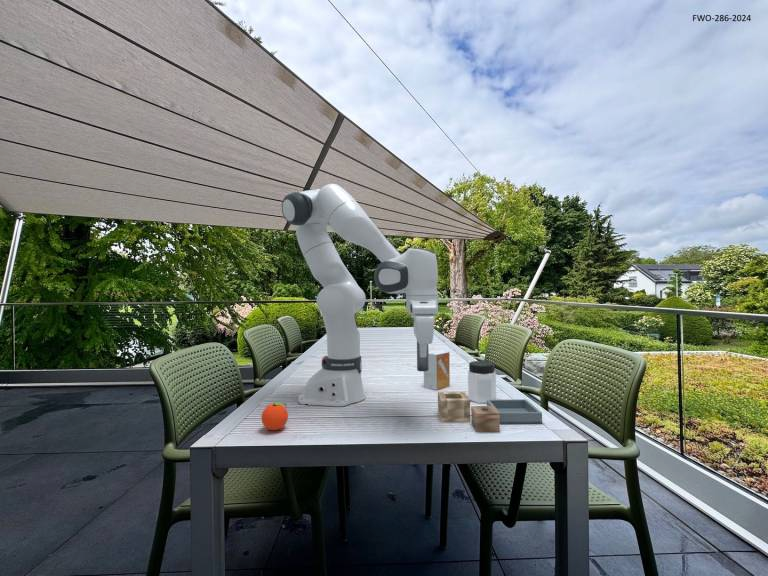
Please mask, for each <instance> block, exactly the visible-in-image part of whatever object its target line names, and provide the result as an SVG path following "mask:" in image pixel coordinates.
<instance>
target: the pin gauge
mask: <svg viewBox="0 0 768 576" xmlns="http://www.w3.org/2000/svg"><path fill="white" fill-rule="evenodd" d="M428 352H429V344H427V356H426V357H420V347H419V343H418V341H417V340H416V370H417V371H418V372H424V371H428V370H429V356H428Z"/></svg>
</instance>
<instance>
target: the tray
mask: <svg viewBox="0 0 768 576" xmlns="http://www.w3.org/2000/svg"><path fill="white" fill-rule="evenodd" d="M486 406H494V407H495V409H496V410H497V411H498V412H499V415H500V425H542V424H543V412H542V411H540V410H539V409H538V408H537V407H536V406H535V405H534V404H532V403H531V402H530V401H529V400H528V399H525V398H523V399H522V398H521V399H518V398H517V399H496V400H487V403H486Z"/></svg>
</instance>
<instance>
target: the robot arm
mask: <svg viewBox="0 0 768 576" xmlns="http://www.w3.org/2000/svg"><path fill="white" fill-rule="evenodd" d="M364 210H365V209H363V208H362V207H361V205H360V204H359V203H358V201H356V199H355V198H354V197H353V196H352V195H351V194H350V193H349V192H348V191H346V190H345V189H344V188H343V187H342V186H340V185H339V184H336V183H327V184H326V185H324V186H322V187H321V188H315V189H309V190H302V191H298V192H297V191H295V192H294V191H293V192H291V193H288V194H287V195H285V196H284V198H283V200H282V203H281V213H282V216H283V218H284V219H285V221H286V222H287V223H288V224H289V225H293V226H297V228H296V230H295V235H296V239H297V242H298V243H297V244H298V245H299V248H300V251H301V253H302V255H303V258H304V260H305V262H306V264H307V266H308V269H309V271H310V272H311V274H312V276H313V278H314V279H315V280H316V281H318V283H320V284H321V286H322V289H321V290H320V291H319V292H318V294H317V296H316V306H317V308H318V310H319V312H320V313H321V316H322V319H323V322H324V327H325V330H326V331H325V332H326V344H327V345H326V346H327V353H326V354H327V355H324V356H322V358H321V368H320V369H319V370H318V371H316V373H315V374H313V375H312V376H311V377H310V378H309V379H308V380H307V382H306V384H305V389H304V392H302V393H300V394H299V396H298V399H297V402H299V403H300V404H299V403H298V404H299V405H305V404H308V405H307V406H309V405H310V406H322V407H323V406H324V407H344V406H347V405H350V404H354V403H355V404H356V403H358V402H361V401H364V399H366V394H365V391H364V385H363V379H362V370H363V364H362V363H363V361H362V356H361V344H360V343H361V342H360V341H361V340H360V339H361V338H360V332H359V330H358V327H357V323H356V319H355V314H357V313H358V312H359V311H360V310H362V308H363V307H364V306H365V303H366V293H365V292H364V290H363V289H362V288H361V287H360V286H359V285H358V283H357V281H356V280H355V278H354V277H353V275H352V274H351V273H350V272H349V270H348V268H347V266H346V265H345V264H344V262H343V260H342V259H341V256H340V254H339V252H338V251H337V249H336V246H335V244H334V243H333V240H332V239H331V237H330V235H329V232H328V225H329V226H330V228H331V229H332V230H333V231H334V233H335V234H337V235H338V236H339V237H340V238H342V239H343V240H344V241H346V242H348V243H352V244H354V245H357V246H360V247H362V248H365V249H366V250H368V251H370V252H371V253H372V254H373V255H375V256H376V258H377V259H378V260H379V261H380V263H379V264H378V265H377V267H376V268H375V270H374V275H373V277H374V283H375V285H376V286H375V287H377V288H378V290H379V291H381V292H383V293H384V294H385V293H386V294H391V295H392V294H405V295H406V296H405V299H406V300H405V301H406V302H405V303H406V305H405V306H406V307H405V312H406V313H410V318H411V319H413V334H414V336H415V338H416V342H417V341H418V343H419V347H420V357H426V356H427V344H428V345H430V344H433V340H434V332H435V331H434V330H435V320H436V317H435V315H437V314H438V312H439V291H438V289H437V286H438V285H437V284H438V282H439V281H438V279H439V271H438V270H439V269H438V268H439V267H438V259H437V255H436V253H435V252H434V251H433V250H431V249H428V248H423V247H416V246H412V247H409V248H407V250H406V251H404V252H403V253H401V252H400V251H399V250H398V249H397V248H396V247H395V246H394V244H393V243H392V242H391V241H390V240H389V239H388V238H387V237H386V236H385V234H383V232H381V231H380V228H378V227H377V226H376V225H375V224H374V222H373V220H372V219H371V218H370V217H369V216H368V214H367V213H366V211H364Z"/></svg>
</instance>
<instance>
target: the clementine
mask: <svg viewBox="0 0 768 576" xmlns="http://www.w3.org/2000/svg"><path fill="white" fill-rule="evenodd" d="M287 408H288V406H287V405H286V403H284V402H274V403H270V404H268V405H267V406H266V407H265V408H264V410H263V411H262V413H261V423H262V425H263V427H264V428H266V429H267V430H269V431H278V429H279V430H281V429H282V428H283V427H284V426H285V425H286V424H287V421H288V420H289V413H288V410H287Z"/></svg>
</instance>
